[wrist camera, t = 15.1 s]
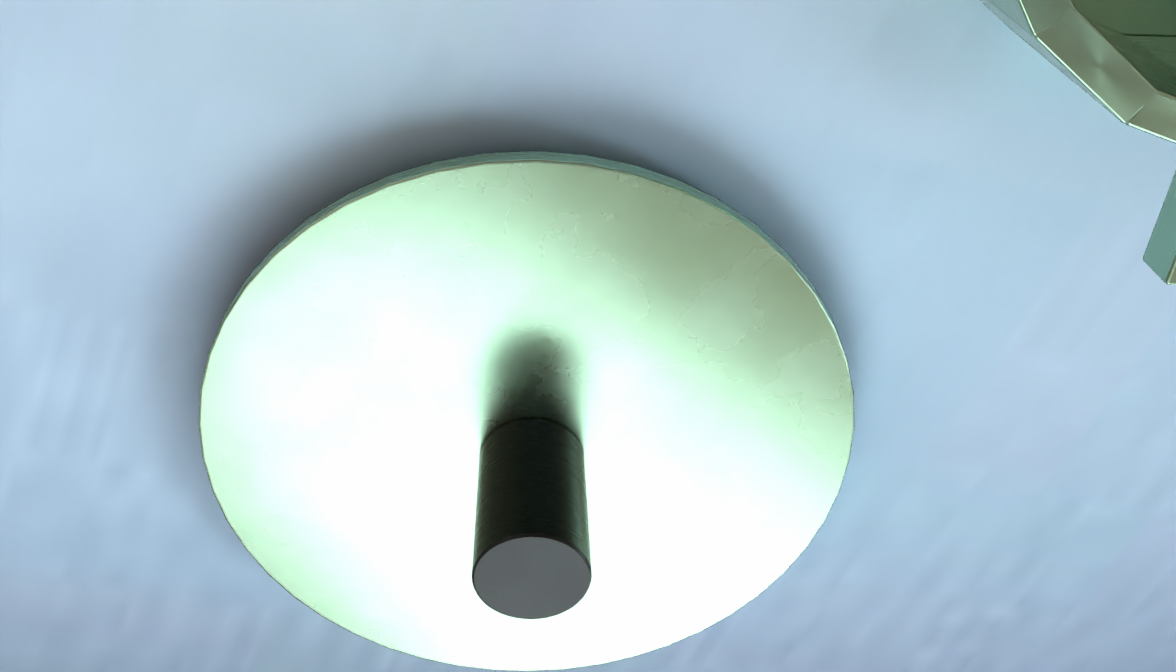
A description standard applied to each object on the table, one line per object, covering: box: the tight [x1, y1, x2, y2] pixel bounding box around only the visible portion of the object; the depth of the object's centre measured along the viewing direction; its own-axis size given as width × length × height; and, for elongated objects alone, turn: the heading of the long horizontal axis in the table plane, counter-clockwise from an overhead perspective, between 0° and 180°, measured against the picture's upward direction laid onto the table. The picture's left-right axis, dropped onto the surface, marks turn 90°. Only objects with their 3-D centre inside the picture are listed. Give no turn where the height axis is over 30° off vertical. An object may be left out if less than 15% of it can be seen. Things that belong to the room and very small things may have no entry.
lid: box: [199, 151, 854, 671], centre depth 25 cm, size 16×16×5 cm
